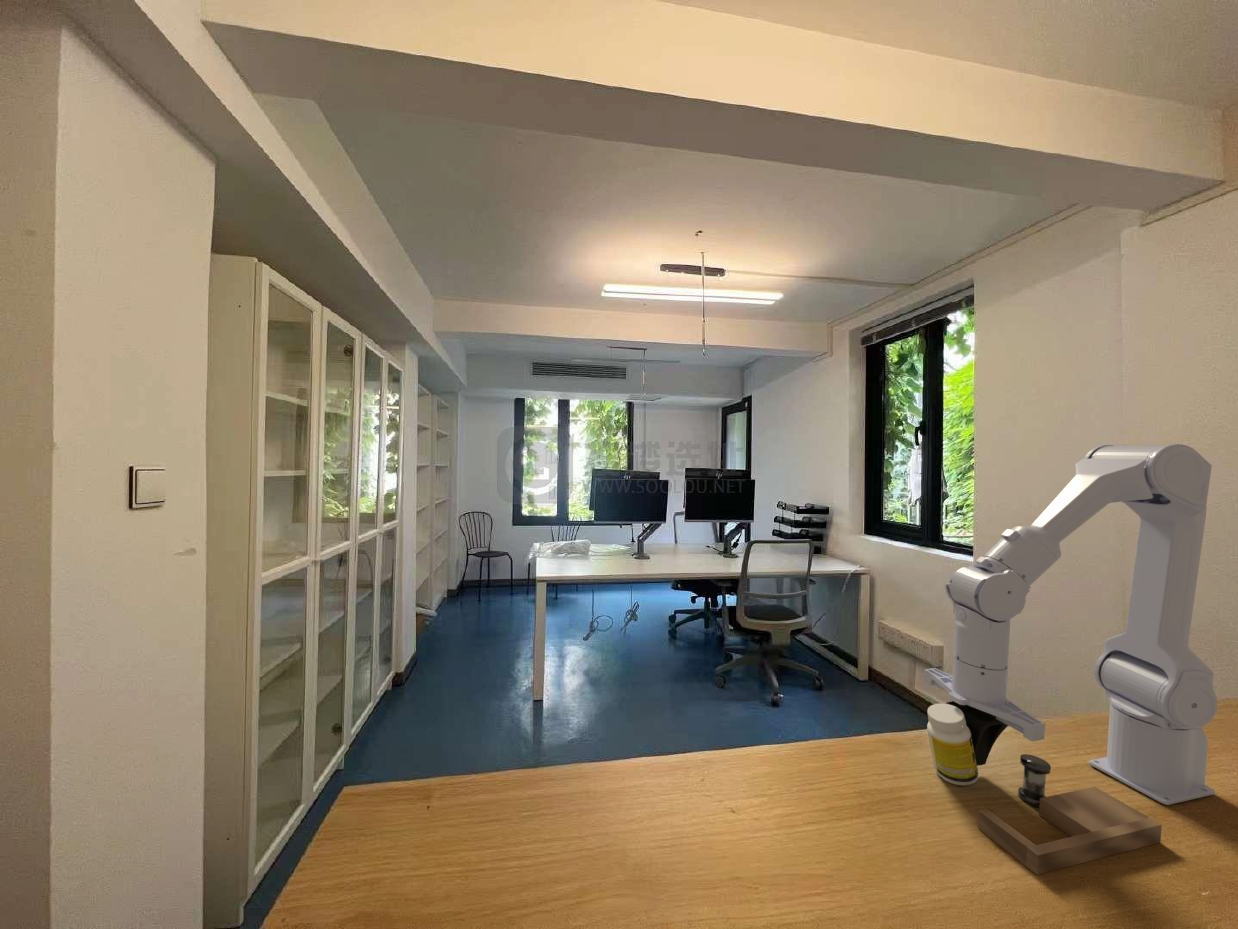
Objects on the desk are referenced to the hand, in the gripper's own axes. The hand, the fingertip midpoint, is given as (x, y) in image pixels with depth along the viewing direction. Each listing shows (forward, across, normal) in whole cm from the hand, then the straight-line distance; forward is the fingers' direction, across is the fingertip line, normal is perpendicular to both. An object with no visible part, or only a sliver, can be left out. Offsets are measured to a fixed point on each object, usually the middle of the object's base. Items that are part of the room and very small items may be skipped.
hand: (974, 762), depth 63 cm
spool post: (+2, +6, +2) cm, 6 cm away
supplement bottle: (+1, 0, -3) cm, 3 cm away
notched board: (+1, +10, 0) cm, 11 cm away
